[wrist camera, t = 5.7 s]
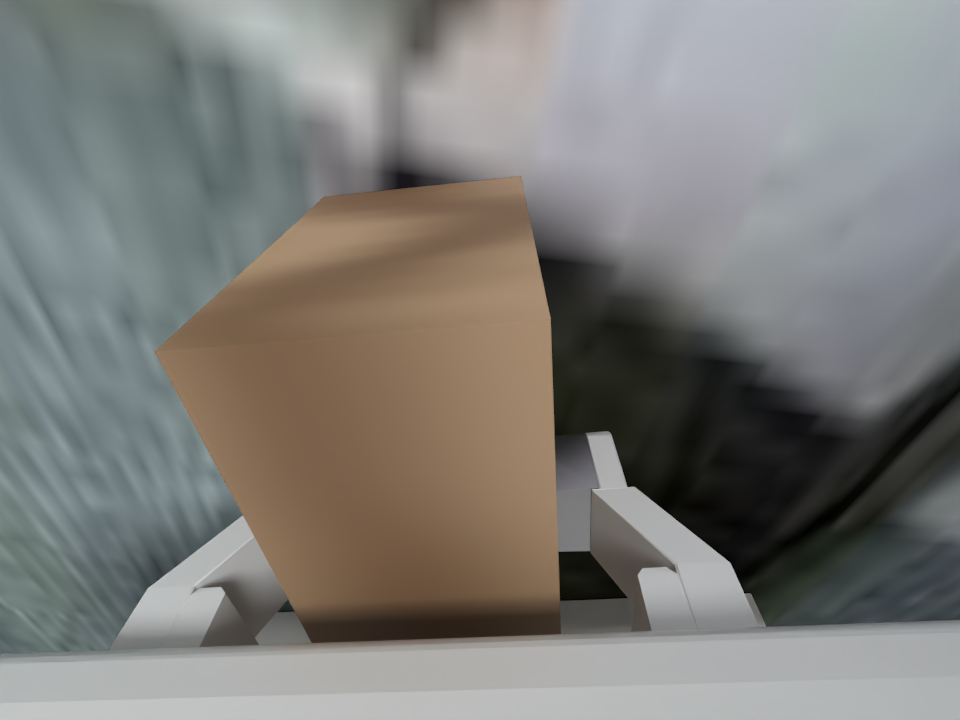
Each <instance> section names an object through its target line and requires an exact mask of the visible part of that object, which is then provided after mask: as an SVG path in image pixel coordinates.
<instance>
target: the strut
mask: <svg viewBox="0 0 960 720" xmlns="http://www.w3.org/2000/svg"><path fill="white" fill-rule="evenodd" d="M155 353H156V355H157V357H158V359H159V361H160V363H161V364H162V366H163V368H164V370H165V372H166V374H167V376H168V377H169V379H170V381H171V383H172V385H173V387H174V388H175V390H176V392H177V394H178V396H179V398H180V400H181V401H182V403H183V405H184V407H185V409H186V411H187V413H188V414H189V416H190V418H191V420H192V422H193V424H194V426H195V427H196V429H197V431H198V433H199V435H200V437H201V439H202V440H203V442H204V444H205V446H206V448H207V450H208V452H209V453H210V455H211V457H212V459H213V461H214V463H215V464H216V466H217V468H218V470H219V472H220V474H221V476H222V477H223V479H224V481H225V483H226V485H227V487H228V489H229V490H230V492H231V494H232V496H233V498H234V500H235V502H236V503H237V505H238V507H239V509H240V511H241V513H242V515H243V516H244V518H245V520H246V522H247V524H248V526H249V528H250V529H251V531H252V533H253V535H254V537H255V539H256V541H257V542H258V544H259V546H260V548H261V550H262V552H263V553H264V555H265V557H266V559H267V561H268V563H269V565H270V566H271V568H272V570H273V572H274V574H275V576H276V578H277V579H278V581H279V583H280V585H281V587H282V589H283V591H284V592H285V594H286V596H287V598H288V600H289V602H290V604H291V605H292V607H293V609H294V611H295V613H296V615H297V617H298V618H299V620H300V622H301V624H302V626H303V628H304V629H305V631H306V633H307V635H308V637H309V639H310V641H311V642H312V643H326V642H355V641H384V640H413V639H442V638H470V637H497V636H524V635H551V634H561V617H560V587H559V556H558V526H557V496H556V466H555V436H554V406H553V376H552V346H551V318H550V314H549V309H548V304H547V299H546V294H545V290H544V285H543V280H542V275H541V271H540V266H539V261H538V256H537V252H536V247H535V242H534V237H533V233H532V228H531V223H530V218H529V213H528V209H527V204H526V199H525V194H524V190H523V185H522V180H521V176H519V177H509V178H500V179H490V180H481V181H471V182H462V183H452V184H443V185H433V186H424V187H414V188H405V189H395V190H386V191H376V192H367V193H357V194H348V195H338V196H329V197H324V198H323V199H321V200H320V201H319V202H318V203H317V204H316V205H315V206H314V207H313V208H312V209H310V210H309V211H308V212H307V213H306V214H305V215H304V216H303V217H302V218H301V219H300V220H298V221H297V222H296V223H295V224H294V225H293V226H292V227H291V228H290V229H289V230H287V231H286V232H285V233H284V234H283V235H282V236H281V237H280V238H279V239H278V240H277V241H275V242H274V243H273V244H272V245H271V246H270V247H269V248H268V249H267V250H266V251H264V252H263V253H262V254H261V255H260V256H259V257H258V258H257V259H256V260H255V261H254V262H252V263H251V264H250V265H249V266H248V267H247V268H246V269H245V270H244V271H243V272H241V273H240V274H239V275H238V276H237V277H236V278H235V279H234V280H233V281H232V282H231V283H229V284H228V285H227V286H226V287H225V288H224V289H223V290H222V291H221V292H220V293H218V294H217V295H216V296H215V297H214V298H213V299H212V300H211V301H210V302H209V303H208V304H206V305H205V306H204V307H203V308H202V309H201V310H200V311H199V312H198V313H197V314H195V315H194V316H193V317H192V318H191V319H190V320H189V321H188V322H187V323H186V324H185V325H183V326H182V327H181V328H180V329H179V330H178V331H177V332H176V333H175V334H174V335H172V336H171V337H170V338H169V339H168V340H167V341H166V342H165V343H164V344H163V345H162V346H160V347H159V348H158V349H157V350H156V351H155Z"/></svg>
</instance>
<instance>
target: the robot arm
mask: <svg viewBox="0 0 960 720" xmlns="http://www.w3.org/2000/svg"><path fill="white" fill-rule="evenodd" d="M555 466H556V496H557V526H558V552H566V551H590V553H591V554H592V555H593V557H594V558H595V559H596V560H597V561H598V563H599V564H600V565H601V566H602V567H603V569H604V570H605V571H606V572H607V573H608V575H609V576H610V577H611V578H612V579H613V581H614V582H615V583H616V584H617V585H618V587H619V588H620V589H621V590H622V591H623V593H624V594H625V595H626V596H627V597H628V598H629V600H630V601H631V602H632V603H633V604H634V612H633V621H632V629H631V632H604V633H577V634H551V635H524V636H497V637H470V638H442V639H413V640H384V641H355V642H326V643H298V644H270V645H259V644H258V642H257V641H256V639H255V637H256V636H257V635H258V634H259V632H260V631H261V630H262V629H263V628H264V627H265V625H266V624H267V623H268V622H269V621H270V620H271V619H272V617H273V616H274V615H275V614H276V613H277V612H278V610H279V609H280V608H281V607H282V606H283V605H284V604H285V602H286V601H287V600H288V598H287V596H286V594H285V592H284V591H283V589H282V587H281V585H280V583H279V581H278V579H277V578H276V576H275V574H274V572H273V570H272V568H271V566H270V565H269V563H268V561H267V559H266V557H265V555H264V553H263V552H262V550H261V548H260V546H259V544H258V542H257V541H256V539H255V537H254V535H253V533H252V531H251V529H250V528H249V526H248V524H247V522H246V520H245V518H244V516H241V517H240V518H239V519H238V520H236V521H235V522H234V523H232V524H231V525H230V526H228V527H227V528H226V529H225V530H223V531H222V532H221V533H219V534H218V535H217V536H215V537H214V538H213V539H211V540H210V541H209V542H208V543H206V544H205V545H204V546H202V547H201V548H200V549H198V550H197V551H196V552H195V553H193V554H192V555H191V556H189V557H188V558H187V559H185V560H184V561H183V562H181V563H180V564H179V565H178V566H176V567H175V568H174V569H172V570H171V571H170V572H168V573H167V574H166V575H164V576H163V577H162V578H161V579H159V580H158V581H157V582H155V583H154V584H153V585H151V586H150V587H149V588H148V589H147V590H146V592H145V593H144V595H143V597H142V598H141V600H140V601H139V603H138V604H137V606H136V608H135V609H134V611H133V612H132V614H131V615H130V617H129V619H128V620H127V622H126V623H125V625H124V626H123V628H122V630H121V631H120V633H119V634H118V636H117V637H116V639H115V641H114V642H113V644H112V645H111V647H110V648H109V650H101V651H73V652H45V653H17V654H0V720H960V620H943V621H915V622H887V623H859V624H830V625H802V626H774V627H759V624H758V622H757V620H756V618H755V616H754V614H753V611H752V609H751V607H750V605H749V603H748V600H747V598H746V596H745V594H744V592H743V589H742V587H741V585H740V583H739V581H738V579H737V576H736V574H735V572H734V570H733V568H732V565H731V563H730V562H729V561H727V560H726V559H725V558H724V557H722V556H721V555H720V554H719V553H717V552H716V551H715V550H714V549H712V548H711V547H710V546H709V545H707V544H706V543H705V542H704V541H702V540H701V539H700V538H699V537H697V536H696V535H695V534H693V533H692V532H691V531H690V530H688V529H687V528H686V527H685V526H683V525H682V524H681V523H680V522H678V521H677V520H676V519H675V518H673V517H672V516H671V515H670V514H668V513H667V512H666V511H664V510H663V509H662V508H661V507H659V506H658V505H657V504H656V503H654V502H653V501H652V500H651V499H649V498H648V497H647V496H646V495H644V494H643V493H642V492H641V491H639V490H638V489H637V488H636V487H627V484H626V480H625V477H624V474H623V471H622V467H621V464H620V461H619V458H618V454H617V451H616V448H615V445H614V442H613V438H612V435H611V433H610V432H609V431H604V432H592V433H585V434H571V435H557V436H555Z"/></svg>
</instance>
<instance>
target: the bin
mask: <svg viewBox="0 0 960 720" xmlns="http://www.w3.org/2000/svg"><path fill="white" fill-rule="evenodd" d="M745 596H746V598H747V600H748V603H749V605H750V607H751V609H752V611H753V614H754V616H755V618H756V620H757V622H758V624H759V627H766V625H765V622H764V620H763V618H762V616H761V614H760V612H759V610H758V607H757V605H756V603H755V601H754V599H753V597H752V595H751V593H745ZM633 612H634V604H633V603H632V602H631V601H630V600H629V598H621V599H596V600H571V601H560V617H561V634H577V633H604V632H631V629H632V621H633ZM255 639H256V641H257V642H258V644H259V645H270V644H298V643H312V642H311V641H310V639H309V637H308V635H307V633H306V631H305V629H304V628H303V626H302V624H301V622H300V620H299V618H298V617H297V615H296V613H295V612H277V613H276V614H275V615H274V616H273V617H272V619H271V620H270V621H269V622H268V623H267V624H266V625H265V627H264V628H263V629H262V630H261V631H260V632H259V634H258V635H257V636H256V637H255Z"/></svg>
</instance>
